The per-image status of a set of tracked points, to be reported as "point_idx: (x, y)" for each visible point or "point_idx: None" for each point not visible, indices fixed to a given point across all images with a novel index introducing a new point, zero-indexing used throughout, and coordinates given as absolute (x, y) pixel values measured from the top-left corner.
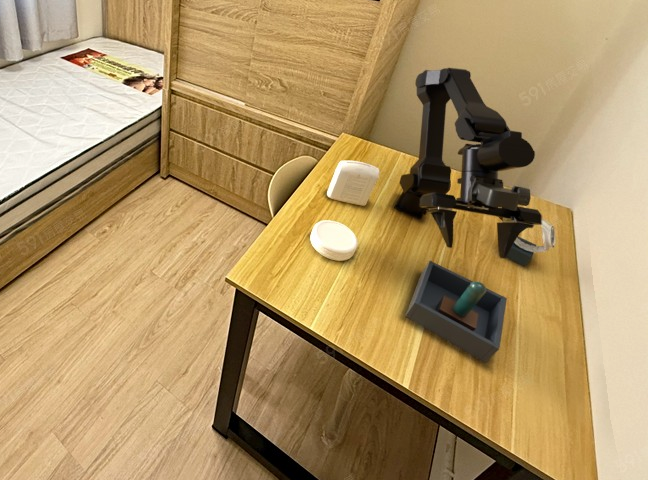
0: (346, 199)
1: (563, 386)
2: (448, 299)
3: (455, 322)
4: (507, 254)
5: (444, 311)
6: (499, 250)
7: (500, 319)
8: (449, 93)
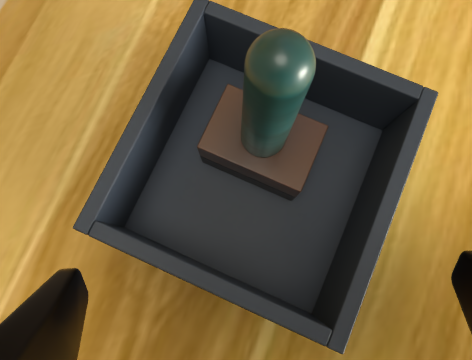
0: None
1: (23, 47)
2: (288, 177)
3: None
4: (37, 290)
5: (314, 121)
6: (73, 350)
7: (144, 111)
8: None
